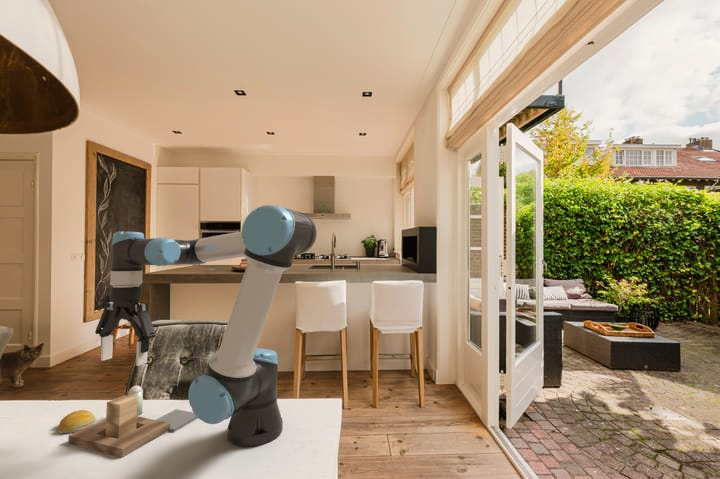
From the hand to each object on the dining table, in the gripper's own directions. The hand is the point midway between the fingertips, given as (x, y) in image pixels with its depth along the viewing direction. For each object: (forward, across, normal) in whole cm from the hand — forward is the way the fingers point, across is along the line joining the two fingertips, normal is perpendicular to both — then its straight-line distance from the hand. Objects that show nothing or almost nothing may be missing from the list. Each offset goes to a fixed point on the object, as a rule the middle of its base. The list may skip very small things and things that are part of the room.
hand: (123, 361), depth 95 cm
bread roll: (+21, +18, 0) cm, 28 cm away
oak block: (+20, 0, 0) cm, 20 cm away
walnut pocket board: (+20, 0, 0) cm, 20 cm away
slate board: (+20, -7, -12) cm, 24 cm away
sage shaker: (+20, +9, -11) cm, 25 cm away
